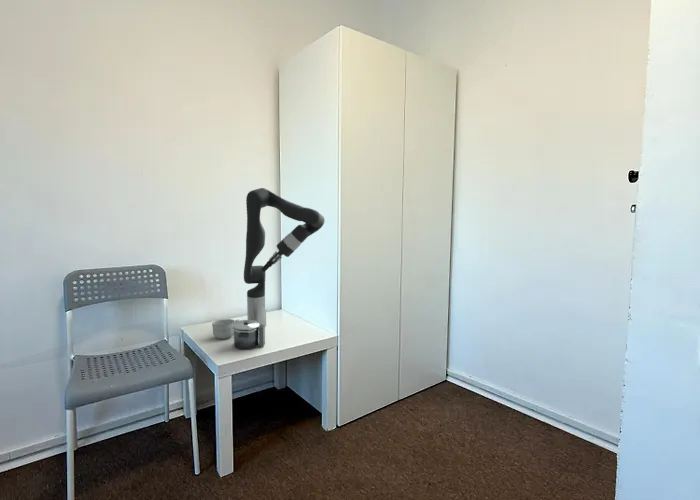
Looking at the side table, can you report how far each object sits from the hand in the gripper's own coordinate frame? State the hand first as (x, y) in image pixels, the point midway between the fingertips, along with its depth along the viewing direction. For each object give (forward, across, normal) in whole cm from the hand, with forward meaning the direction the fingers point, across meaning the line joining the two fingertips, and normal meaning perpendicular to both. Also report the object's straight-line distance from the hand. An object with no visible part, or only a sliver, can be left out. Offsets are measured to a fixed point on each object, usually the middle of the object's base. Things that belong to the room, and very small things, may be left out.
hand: (262, 270), depth 185 cm
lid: (+24, 0, +13) cm, 28 cm away
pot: (+30, 0, +21) cm, 36 cm away
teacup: (+40, -12, +12) cm, 43 cm away
